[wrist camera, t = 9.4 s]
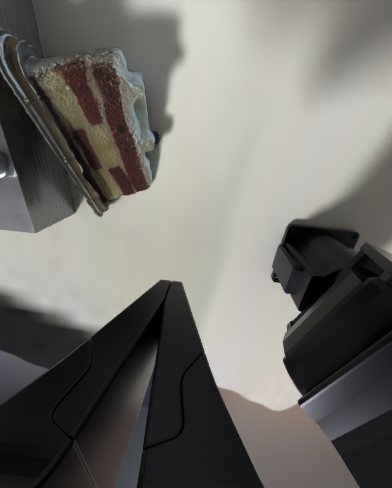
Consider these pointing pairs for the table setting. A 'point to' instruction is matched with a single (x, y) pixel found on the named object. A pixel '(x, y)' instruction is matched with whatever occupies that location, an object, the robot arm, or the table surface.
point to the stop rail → (27, 148)
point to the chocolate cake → (86, 115)
